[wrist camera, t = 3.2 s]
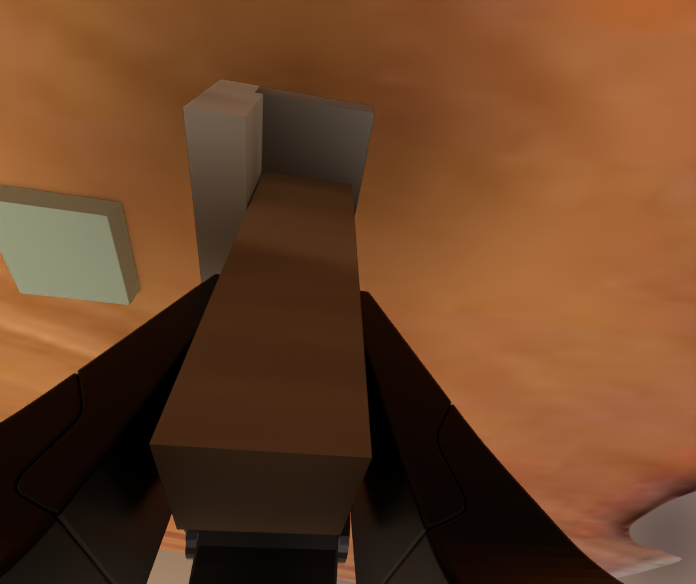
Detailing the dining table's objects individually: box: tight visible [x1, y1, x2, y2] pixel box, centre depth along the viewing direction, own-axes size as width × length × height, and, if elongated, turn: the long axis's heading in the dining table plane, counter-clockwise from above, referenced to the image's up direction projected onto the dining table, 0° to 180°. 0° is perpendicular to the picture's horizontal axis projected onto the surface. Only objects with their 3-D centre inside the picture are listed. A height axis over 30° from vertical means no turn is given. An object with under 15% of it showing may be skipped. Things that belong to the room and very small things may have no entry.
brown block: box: [149, 79, 375, 535], centre depth 8 cm, size 6×4×9 cm, turn 171°
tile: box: [0, 185, 140, 305], centre depth 21 cm, size 6×6×2 cm
